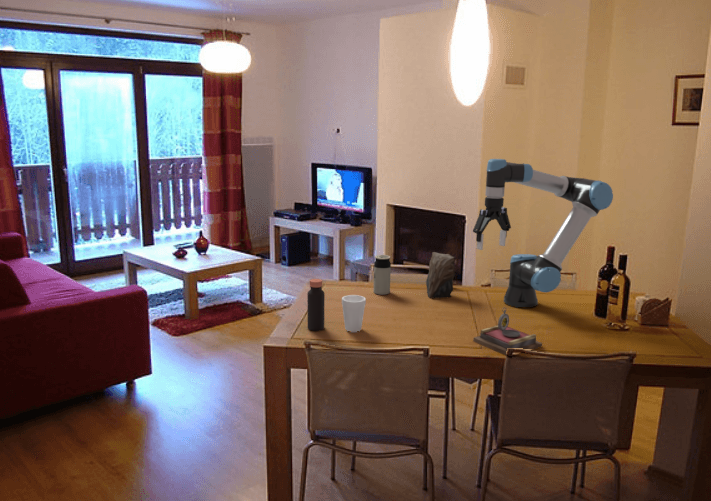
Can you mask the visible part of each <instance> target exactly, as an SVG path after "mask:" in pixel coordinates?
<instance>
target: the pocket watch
mask: <svg viewBox="0 0 711 501" xmlns="http://www.w3.org/2000/svg"><path fill="white" fill-rule="evenodd" d="M501 311H502V312H503V313H502V314H501V315H500V316H499V318H498V322H497V325H498V328H499V330H501V331H502V334H503V335H504V336H507V337H519V336H520V332H518V331H519V330H518V331H515V330H516V329H515V330H505V329H506V328H507V326H508V327H509V325H510V324H509V323H510V317H509V314H508V313H506V312H507V307H502V310H501ZM502 325H503V326H502Z"/></svg>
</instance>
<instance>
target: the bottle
mask: <svg viewBox="0 0 711 501" xmlns="http://www.w3.org/2000/svg"><path fill="white" fill-rule="evenodd" d="M309 288H310V289H309V290H308V291H307V293H306V294H307V298H306V299H307V329H308V330H309V331H311V330H312V331H313V332H318V331H319V330H320V331H323V330H324V329H325V300H326V299H325V298H326V296H325V291H324V290H323V289H322V288H323V280H322V279H321V278H313V279H309ZM320 331H319V332H320Z"/></svg>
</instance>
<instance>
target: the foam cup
mask: <svg viewBox="0 0 711 501" xmlns="http://www.w3.org/2000/svg"><path fill="white" fill-rule="evenodd" d="M366 301H367V299H366V297H365V296H362V295H358V294H349V295H344V296H342V297H341V305H342V313H343V321H344V328H345V329H346V330H347V331H346V330H345V331H346V332H348V331H351V332H350V333H358V332H357V331H359V332H360V330H361V331H362V327H363V319H364V314H365V308H366Z"/></svg>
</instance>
